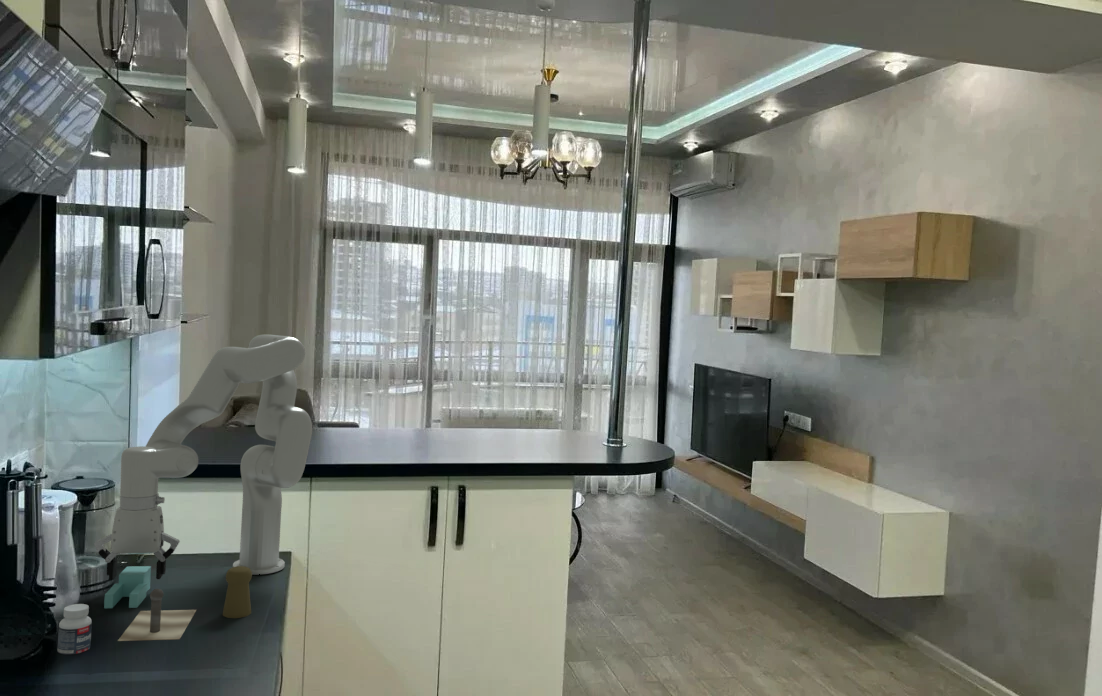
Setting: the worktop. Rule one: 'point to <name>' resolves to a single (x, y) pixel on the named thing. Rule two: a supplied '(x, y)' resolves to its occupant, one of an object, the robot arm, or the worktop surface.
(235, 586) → the cork
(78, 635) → the pill bottle
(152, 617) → the stand
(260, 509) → the robot arm
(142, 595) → the link
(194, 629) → the worktop surface
